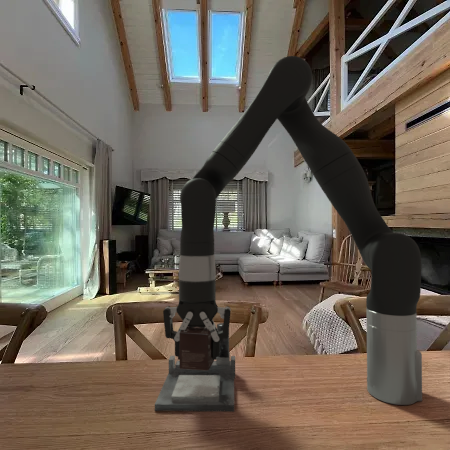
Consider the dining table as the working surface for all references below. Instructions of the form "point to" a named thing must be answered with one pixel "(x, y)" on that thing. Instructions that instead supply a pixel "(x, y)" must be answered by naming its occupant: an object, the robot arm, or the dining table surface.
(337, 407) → the dining table surface
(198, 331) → the box
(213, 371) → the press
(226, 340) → the lever
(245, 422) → the dining table surface
